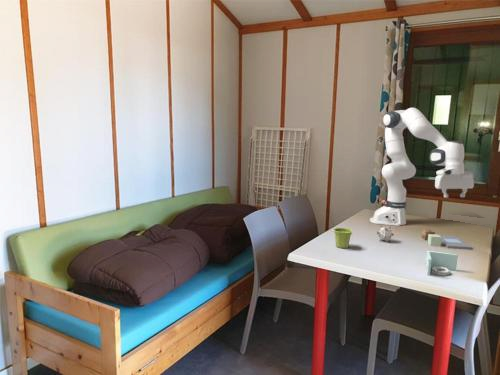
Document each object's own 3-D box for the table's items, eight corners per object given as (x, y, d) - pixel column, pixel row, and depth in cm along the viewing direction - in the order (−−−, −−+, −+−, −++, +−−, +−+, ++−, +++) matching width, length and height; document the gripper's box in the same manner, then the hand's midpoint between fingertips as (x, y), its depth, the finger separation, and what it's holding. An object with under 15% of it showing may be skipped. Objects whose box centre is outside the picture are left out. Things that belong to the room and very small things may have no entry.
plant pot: (339, 242, 202) (340, 226, 201) (355, 246, 195) (356, 230, 194) (329, 246, 195) (329, 229, 194) (345, 250, 189) (346, 233, 187)
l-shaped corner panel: (427, 276, 159) (429, 259, 158) (425, 266, 170) (427, 250, 169) (459, 281, 155) (461, 263, 154) (455, 270, 166) (457, 254, 165)
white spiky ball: (386, 247, 209) (397, 232, 208) (387, 245, 201) (398, 230, 201) (372, 236, 212) (383, 222, 212) (372, 235, 204) (384, 220, 204)
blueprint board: (447, 248, 197) (447, 245, 197) (434, 237, 216) (434, 234, 216) (472, 249, 195) (472, 247, 195) (457, 238, 215) (457, 236, 215)
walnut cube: (424, 240, 210) (425, 231, 209) (421, 237, 215) (422, 229, 214) (434, 240, 209) (435, 232, 209) (431, 238, 214) (432, 229, 214)
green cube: (430, 245, 200) (431, 236, 200) (427, 243, 205) (428, 234, 204) (440, 246, 200) (441, 237, 199) (437, 243, 205) (438, 234, 204)
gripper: (468, 171, 207) (468, 196, 208) (433, 171, 205) (433, 197, 205) (476, 171, 201) (476, 197, 201) (440, 171, 198) (440, 198, 199)
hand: (454, 197), depth 203 cm, fingers open, 8 cm apart
